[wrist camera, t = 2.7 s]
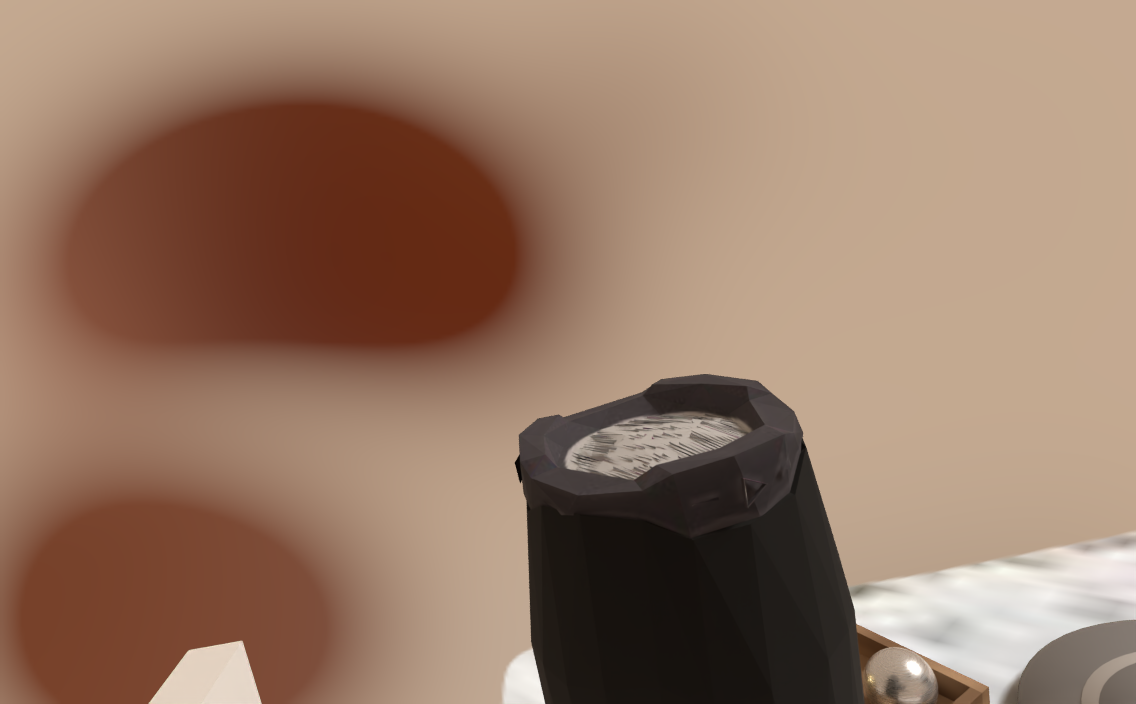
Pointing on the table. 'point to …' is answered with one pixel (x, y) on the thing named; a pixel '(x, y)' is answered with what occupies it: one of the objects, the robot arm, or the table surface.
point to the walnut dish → (957, 694)
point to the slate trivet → (1084, 668)
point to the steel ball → (899, 678)
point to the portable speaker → (684, 553)
